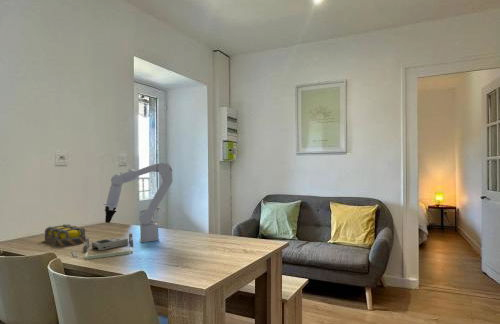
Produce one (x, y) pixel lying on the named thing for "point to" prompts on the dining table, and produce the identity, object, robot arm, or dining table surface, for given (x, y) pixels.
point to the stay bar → (74, 253)
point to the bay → (108, 254)
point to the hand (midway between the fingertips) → (107, 221)
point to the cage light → (65, 235)
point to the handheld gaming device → (109, 243)
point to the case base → (88, 242)
